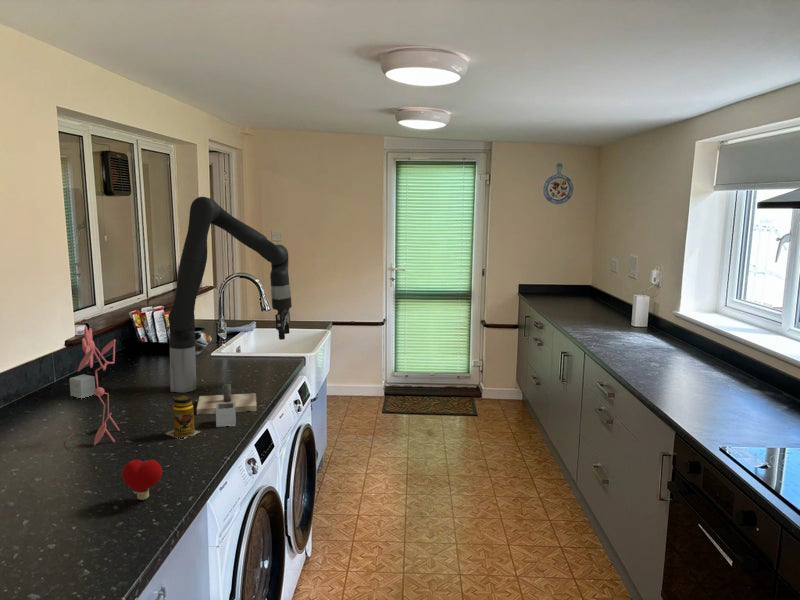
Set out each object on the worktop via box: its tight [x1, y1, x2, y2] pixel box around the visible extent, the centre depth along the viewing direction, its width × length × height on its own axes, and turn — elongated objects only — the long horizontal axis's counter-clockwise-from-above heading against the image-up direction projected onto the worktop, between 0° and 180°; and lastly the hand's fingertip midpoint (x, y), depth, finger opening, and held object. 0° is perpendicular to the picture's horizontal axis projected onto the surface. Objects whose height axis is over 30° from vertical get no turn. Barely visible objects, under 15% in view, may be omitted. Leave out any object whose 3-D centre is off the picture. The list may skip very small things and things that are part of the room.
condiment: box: [165, 394, 201, 440], centre depth 181 cm, size 7×8×12 cm
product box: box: [69, 374, 96, 400], centre depth 213 cm, size 6×6×7 cm
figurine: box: [64, 325, 126, 452], centre depth 173 cm, size 15×26×35 cm, turn 17°
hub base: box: [196, 383, 258, 416], centre depth 206 cm, size 20×14×8 cm
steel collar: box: [215, 403, 237, 428], centre depth 190 cm, size 6×6×6 cm
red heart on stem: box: [121, 459, 163, 501], centre depth 140 cm, size 9×7×10 cm
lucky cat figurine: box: [195, 330, 213, 356], centre depth 277 cm, size 15×12×14 cm
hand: (284, 336), depth 227 cm, fingers open, 8 cm apart
